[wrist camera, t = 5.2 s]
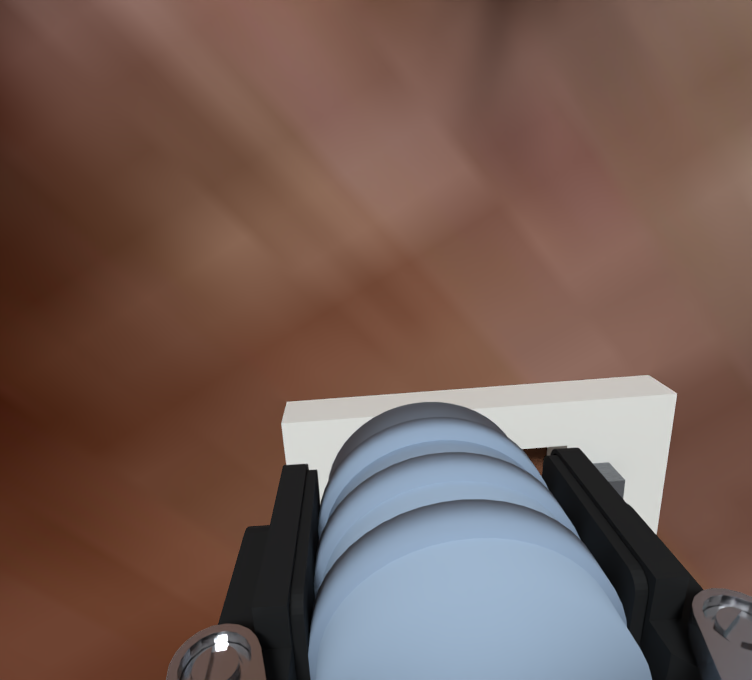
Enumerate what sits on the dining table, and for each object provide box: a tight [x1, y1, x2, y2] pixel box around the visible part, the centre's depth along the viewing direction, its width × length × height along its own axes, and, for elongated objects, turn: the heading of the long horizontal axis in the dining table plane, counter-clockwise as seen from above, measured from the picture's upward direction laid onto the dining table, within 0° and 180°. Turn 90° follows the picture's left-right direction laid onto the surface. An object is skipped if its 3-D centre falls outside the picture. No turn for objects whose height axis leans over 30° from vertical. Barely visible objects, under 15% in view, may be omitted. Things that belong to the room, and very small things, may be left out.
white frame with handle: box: [281, 375, 677, 534], centre depth 29 cm, size 20×22×2 cm
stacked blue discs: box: [308, 402, 652, 680], centre depth 10 cm, size 5×5×6 cm
